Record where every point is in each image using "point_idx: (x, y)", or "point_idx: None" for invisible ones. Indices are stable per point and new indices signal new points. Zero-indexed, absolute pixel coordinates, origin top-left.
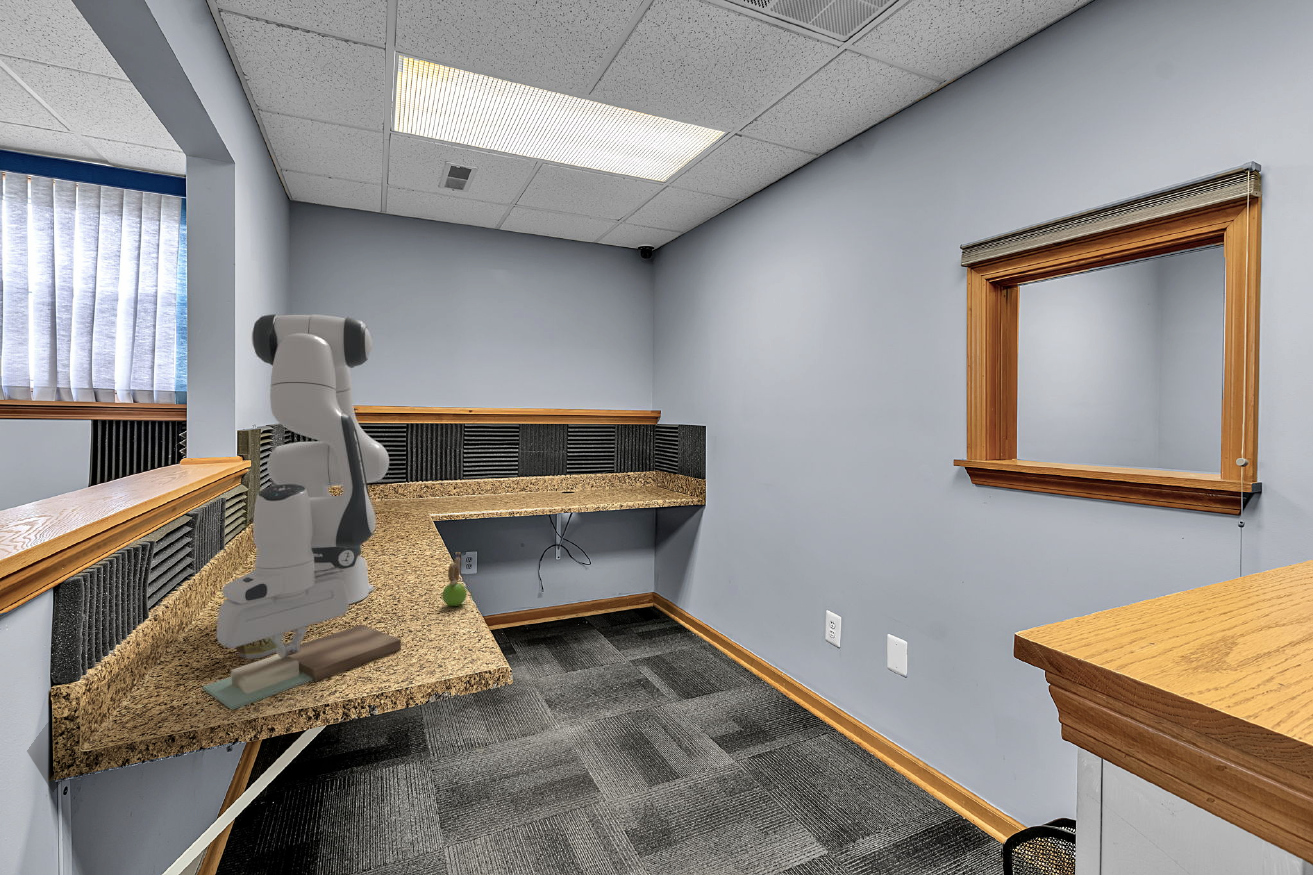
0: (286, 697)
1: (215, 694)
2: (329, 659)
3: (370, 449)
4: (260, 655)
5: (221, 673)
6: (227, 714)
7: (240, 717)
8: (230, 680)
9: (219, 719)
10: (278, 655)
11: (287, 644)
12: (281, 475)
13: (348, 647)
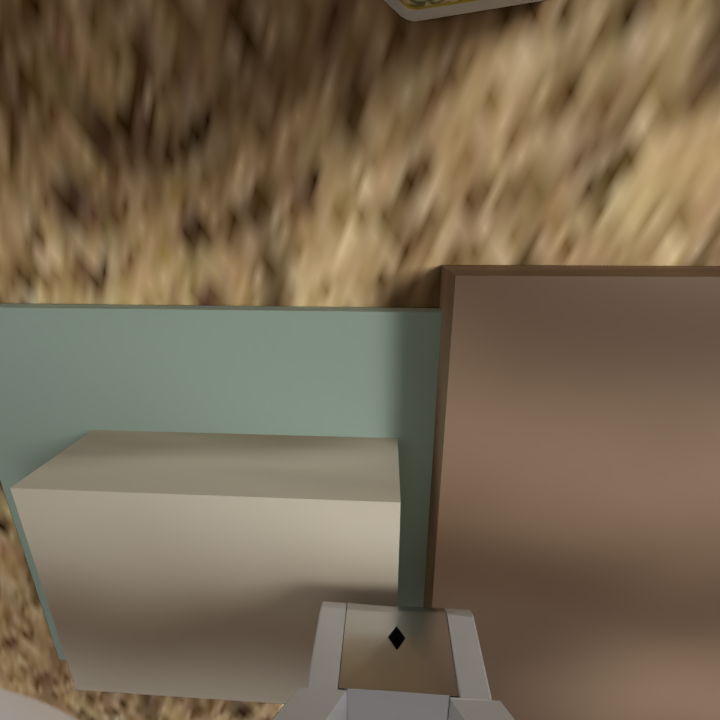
0: (266, 710)
1: (6, 488)
2: (561, 718)
3: None
4: (398, 8)
5: (83, 106)
6: (52, 661)
7: (89, 713)
8: (94, 366)
9: (24, 672)
10: (323, 602)
11: (392, 712)
12: None
13: None
